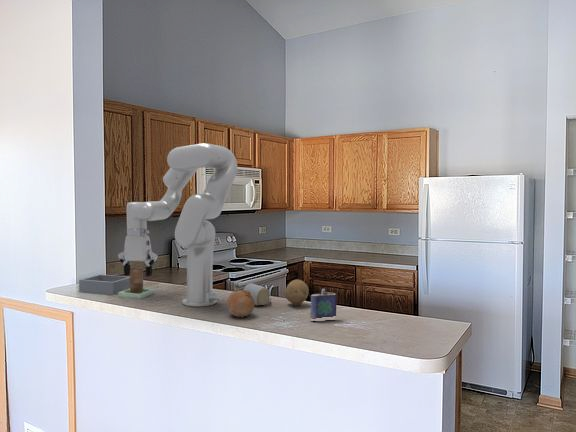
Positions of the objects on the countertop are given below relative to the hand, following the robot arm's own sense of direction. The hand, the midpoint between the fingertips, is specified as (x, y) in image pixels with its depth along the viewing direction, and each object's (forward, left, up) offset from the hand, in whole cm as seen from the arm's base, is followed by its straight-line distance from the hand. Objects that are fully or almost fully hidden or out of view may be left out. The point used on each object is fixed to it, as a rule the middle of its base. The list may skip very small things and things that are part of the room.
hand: (138, 275), depth 183 cm
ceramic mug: (-50, -3, -8) cm, 50 cm away
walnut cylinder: (+1, 0, -8) cm, 7 cm away
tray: (+1, 0, -8) cm, 8 cm away
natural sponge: (-64, -5, -8) cm, 65 cm away
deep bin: (+18, -4, -8) cm, 20 cm away
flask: (-77, +11, -8) cm, 79 cm away
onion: (-49, +15, -8) cm, 52 cm away
